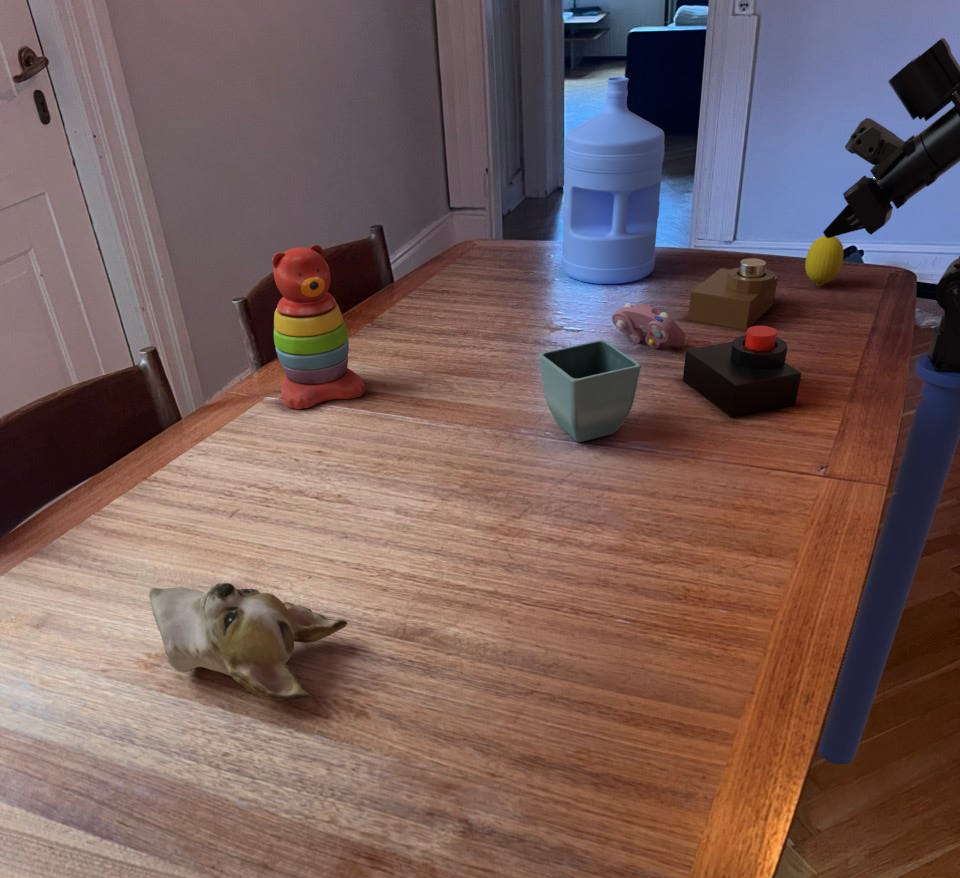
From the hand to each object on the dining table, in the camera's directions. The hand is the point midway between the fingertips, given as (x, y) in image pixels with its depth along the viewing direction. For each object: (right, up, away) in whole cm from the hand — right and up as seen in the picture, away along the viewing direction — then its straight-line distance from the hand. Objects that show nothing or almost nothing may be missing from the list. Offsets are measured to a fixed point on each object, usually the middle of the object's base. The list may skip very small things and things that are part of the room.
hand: (825, 234), depth 125 cm
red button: (-13, -19, -12) cm, 26 cm away
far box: (-9, -6, +13) cm, 17 cm away
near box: (-15, -24, -9) cm, 29 cm away
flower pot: (-35, -31, -16) cm, 49 cm away
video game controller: (-24, -14, +5) cm, 28 cm away
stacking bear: (-69, -22, -4) cm, 72 cm away
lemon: (+7, +1, +21) cm, 22 cm away
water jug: (-26, +7, +30) cm, 40 cm away
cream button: (-8, -2, +9) cm, 12 cm away
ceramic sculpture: (-67, -58, -47) cm, 100 cm away
